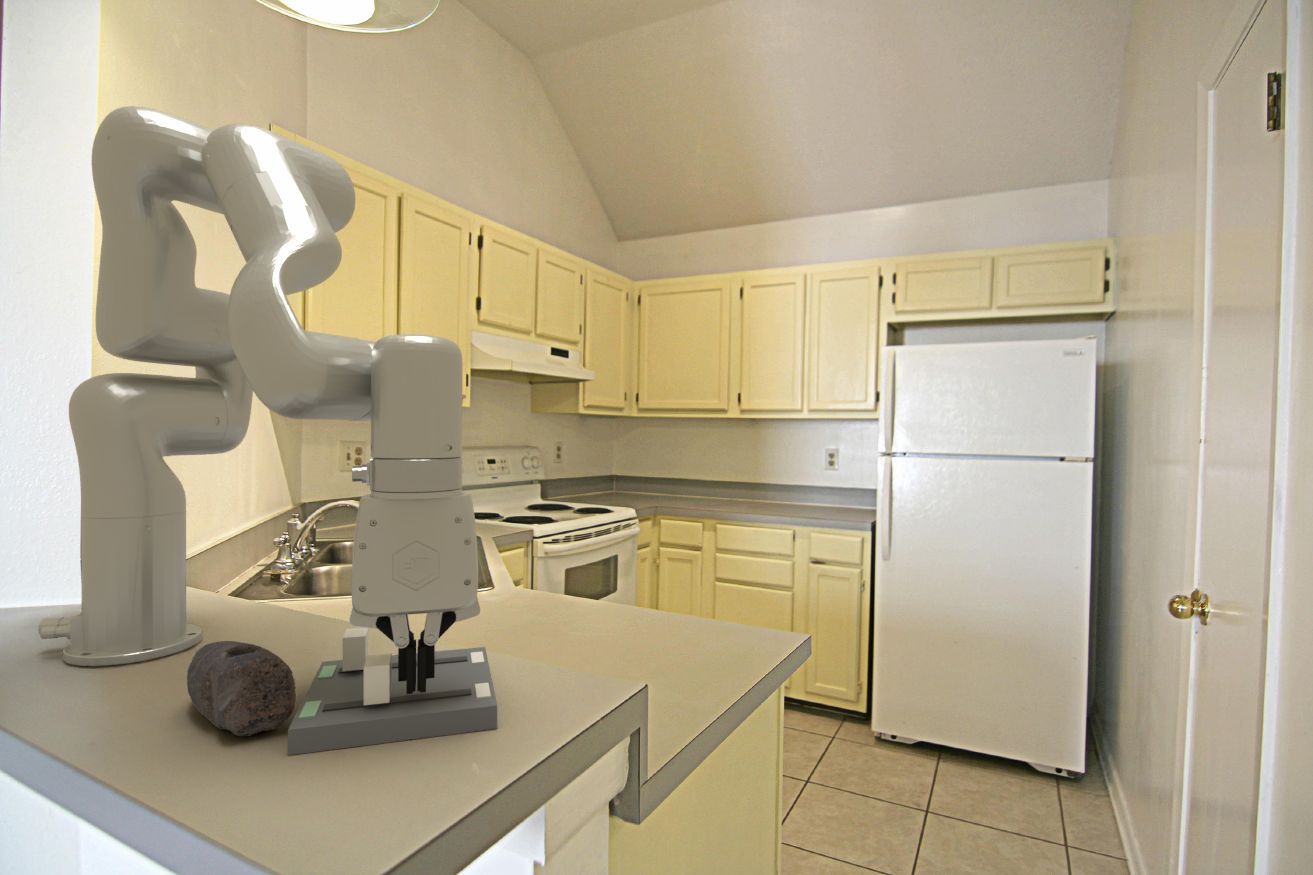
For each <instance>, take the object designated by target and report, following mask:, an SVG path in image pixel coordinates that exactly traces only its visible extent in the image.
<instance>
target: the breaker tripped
mask: <svg viewBox="0 0 1313 875" xmlns="http://www.w3.org/2000/svg"><path fill="white" fill-rule="evenodd" d="M392 655H393V653H383V654H381V653H380V654H373V655H371V654H370V655H368V656H367V659H366V662H365V665H364V705H372V704H381V703H389V701H390V696H391V691H392Z"/></svg>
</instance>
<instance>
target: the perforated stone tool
mask: <svg viewBox="0 0 1313 875" xmlns="http://www.w3.org/2000/svg"><path fill="white" fill-rule="evenodd" d="M186 675H187V676H186V682H187V683H186V684H187V692H188V696H189V698H190V700H191V703H192V704H193V706H194V707H195V708H196V710H197V711H198V712H199V713H201V715H202V716H204V718H206V719H207V720H208V721H209V722H210V723H212V724H213V725H214V726H215V727H216V728H218V729H219V730H227V731H230V732H231V733H232V734H233V735H236V736H237V737H251V736H252V735H256V734H259V733H260V732H262V731H264V732H267V731H271V730H275V729H277V728H279V727H281V726H282V725H283V724H284V723H285V722H286V721H288V720H289V718H290V717H291V716H292V714H293V712H294V709H295V705H296V683H295V678H294V676H293V671H292V669H291V667H290V666H289V664H287V663H286V661H284V660H283V659H282V658H281V657H280V656H278V655H277V654H275V653H273V652H272V651H270V650H268V649H267V648H264V647H262V646H260V645H256V644H253V643H247V642H241V641H232V640H221V641H216V642H215V641H214V642H211V643H210V642H209V643H207V644H205V645H203V646H202V647H200V649H198V650H197V651H196V652H195V653H194V655H193V657H192V659H191V661H190V663H189V665H188V669H187V673H186Z"/></svg>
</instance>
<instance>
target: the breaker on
mask: <svg viewBox="0 0 1313 875" xmlns="http://www.w3.org/2000/svg"><path fill="white" fill-rule="evenodd" d="M369 629H370V628H367V627H353V628H346V630H345V632H344V634H343V636H342V660H343V671H352V670H363V669H364V665H365V662H366V659H367V656H370V655H369V652H370V651H369V649H370V648H369V644H370V643H369V638H370V637H369V634H370V633H369V632H370V630H369Z"/></svg>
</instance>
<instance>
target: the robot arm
mask: <svg viewBox="0 0 1313 875" xmlns="http://www.w3.org/2000/svg"><path fill="white" fill-rule="evenodd" d="M91 173H92V180H93V186H94V191H95V192H94V193H95V196H96V199H97V204H98V208H99V213H100V220H101V226H102V227H101V228H102V230H101V232H102V233H101V235H102V236H101V237H102V238H101V247H100V254H99V255H100V257H99V266H98V277H97V278H98V280H97V289H96V290H97V293H96V294H97V295H96V305H95V306H96V307H95V333H96V339H97V341H98V344H99V346H100V347H101V348H102V349H103V350H104V351H105V353H108V354H109V355H112V356H113V357H116V358H119V359H122V360H127V361H132V362H140V363H149V364H159V365H170V366H182V367H194V368H195V377H188V376H187V377H186V376H184V377H183V376H172V375H162V374H148V373H133V372H132V373H131V372H130V373H129V372H113V373H105V374H99V375H96V376H93V377H89V378H88V379H86V380H84V381H82V382H81V383H80V384H79V385H78V386H77V387H76V388H75V389H74V390H73V391H72V394H71V396H70V399H69V403H68V420H69V425H70V428H71V433H72V437H73V442H74V447H75V450H76V455H77V463H78V469H79V470H78V471H79V482H80V542H81V558H80V560H81V562H80V579H81V580H82V585H81V612H80V613H77V614H76V615H75V616H72V617H64V616H62V617H46V618H42V619H41V620H40V622H39V624H38V634H39V635H40V639H41V640H50V639H51V640H52V639H58V638H66V639H67V640H70V643H68V644H67V645H66V646H65V647H64V648H63V650H62V660H63V661H65V663H67V664H69V665H74V666H80V667H81V666H82V667H103V666H104V667H106V666H114V665H117V666H118V665H124V664H132V663H138V662H143V661H148V660H153V659H158V658H162V657H166V656H169V655H172V654H176V653H180V652H182V651H185V650H187V649H189V648H191V647H193V646H195V645H197V644H198V643H199V642H201V640H202V639H203V629H202V628H201V626H199V625H196V624H193V623H187V499H186V498H187V496H186V492H185V489H184V486H183V484H182V482H181V480H180V479H179V477H178V476H177V475H176V474H175V472H174V471H173V469H171V467H170V466H169V465H168V464H167V462H166V461H165V459H164V457H174V456H203V455H205V456H206V455H217V454H219V455H220V454H224V453H228V452H231V451H232V450H235V449H236V448H237V447H239V446H240V445H241V443H243V440H244V439H245V438H246V435H247V432H248V429H249V425H250V420H251V413H252V407H253V406H252V404H253V397H254V396H253V395H255V396H256V397H257V399H258V400H259V401H260V402H261V403H262V404H263V405H264V407H266V408H267V410H268V409H269V410H270V411H271V412H273V413H275V414H277V415H279V416H281V417H285V418H288V419H295V420H326V421H327V420H333V421H335V420H337V421H338V420H339V421H348V422H349V421H351V422H352V421H353V422H360V421H361V422H370V457H371V458H370V459H369V461H367V462H366V463H365V464H362V465H352V470H351V478H352V479H351V481H352V482H354V483H355V482H357V483H358V482H361V483H362V484H366V486H369V490H370V493H368V494H364V495H362V496H361V497H360V499H359V503H358V507H357V508H358V509H357V514H356V518H355V519H356V520H355V526H354V536H353V549H352V567H351V603H352V604H351V605H352V608H351V613H350V617H349V624H350V625H352V626H354V627H359V628H364V627H367V628H369V629H377V630H378V631H380V632H381V633H382V634H383V635H384V636H386V637H387V639H390V641H391V642H393V643H394V646H395V647H396V648H398V649H397V651H398V652H397V653H398V654H397V655H398V682H400V681H407V686H406V693H407V694H413V692H415V690H416V653H417V691H420V693H422V692H426V679H429V678H435V651H436V650H435V649H436V648H435V646H436V644H437V643H438V641H439V639H440V638H441V637H442V636H443V635H444V634H445V633H446V632H447V631H448V630H449V629H450V628H451V627H452V626H453V625H454V623H457V622H462V621H465V620H468V619H471V618H475V617H478V616H479V615H480V613H481V607H480V603H479V598H478V591H479V590H478V589H479V565H478V564H479V562H478V561H479V560H478V558H479V557H478V543H477V541H478V540H477V527H476V517H475V509H474V505H473V499H472V495H471V493H469V492H466V491H463V354H462V350H461V348H460V347H459V346H458V344H457V343H455V341H453V340H450V339H448V338H446V337H440V336H434V335H428V334H427V335H426V334H425V335H423V334H391V335H386V336H383V337H381V338H379V339H377V340H376V341H374V340H368V339H367V340H366V339H360V338H358V337H357V338H356V337H350V336H344V335H339V334H338V335H336V334H331V333H325V332H324V333H323V332H317V331H308V330H305V328H303V326H302V325H301V322H300V321H299V319H298V318H297V316H296V314H295V312H294V310H293V308H292V306H291V304H290V301H289V299H288V297H287V296H289V295H292V294H298V293H302V292H304V291H308V290H310V289H312V288H314V287H316V286H319V285H320V284H322V283H324V282H325V281H327V280H328V279H329V278H331V277H332V275H334V274H335V272H336V271H337V270H338V268H339V267H340V264H341V261H342V256H343V255H342V253H343V251H342V249H343V248H342V246H341V242H340V241H339V240H340V239H338V236H337V235H336V233H338V232H340V231H341V230H342V229H344V228H345V227H346V226H347V225H348V224H349V223H350V222H351V220H352V218H353V216H354V212H355V208H356V190H355V187H354V183H353V181H352V179H351V177H350V175H349V173H348V171H347V170H346V169H345V168H344V167H343V166H342V165H341V164H340V163H339V162H338V161H337V160H336V159H334V158H333V157H331V156H329V155H327V154H325V153H323V152H321V151H318V150H315V149H313V148H311V147H308V146H306V145H304V144H302V143H299V142H297V141H296V140H293V139H289V138H288V137H285V136H283V135H281V134H278V133H276V132H274V131H272V130H269V129H266V128H264V127H261V126H257V125H253V124H246V123H230V124H226V125H222V126H220V127H218V128H215V129H211V128H208V127H206V126H204V125H202V124H199V123H197V122H194V121H191V120H188V119H185V118H184V117H181V116H178V115H175V114H171V113H169V112H167V111H166V112H165V111H163V110H158V109H154V108H150V107H144V106H136V105H135V106H134V105H128V106H121V107H118V108H115V109H114V110H111V112H109V113H108V114H107V115H106V116H105V117H104V119H102V121H101V123H100V124H99V127H98V128H97V131H96V134H95V136H94V139H93V142H92V150H91ZM173 201H175V202H176V201H177V202H181V203H185V204H187V205H190V206H193V207H198V208H200V209H203V210H207V211H210V212H214V213H217V214H221V215H223V216H224V218H225V220H226V222H227V224H228V227H229V229H230V231H231V233H232V235H233V236H234V237H233V238H234V240H235V241H236V244H237V246H238V248H239V250H240V252H241V255H242V256H243V258H244V261H245V264H244V265H243V267H241V269H240V271H239V273H238V274H237V276H236V278H235V279H234V282H233V284H232V286H231V289H230V294H228V293H226V292H222V291H217V290H210V289H207V288H201V287H197V286H196V280H195V279H196V278H195V277H196V276H195V275H196V273H195V272H196V263H197V254H198V252H197V244H196V241H195V239H194V236H193V234H192V232H191V230H190V228H189V226H188V224H187V222H186V221H185V219H184V217H183V216H182V214H181V212H179V209H178V208H177V207H176V206H175V205H174V204H173ZM419 614H420V615H422V614H426V616H425V624H424V628H423V629H422V631H421V632H420V633H419V634H420V636H419V639H415V636H414V635H415V634H414V632H413V631H411V627H410V620H409V615H419Z"/></svg>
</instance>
